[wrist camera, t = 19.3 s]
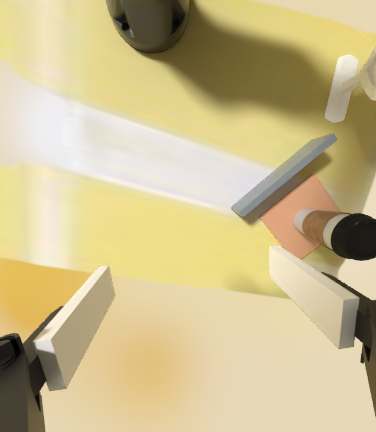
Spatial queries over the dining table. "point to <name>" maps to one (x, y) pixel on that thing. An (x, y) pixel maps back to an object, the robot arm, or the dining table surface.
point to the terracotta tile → (287, 209)
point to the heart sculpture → (350, 84)
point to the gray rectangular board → (282, 174)
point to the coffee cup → (340, 232)
